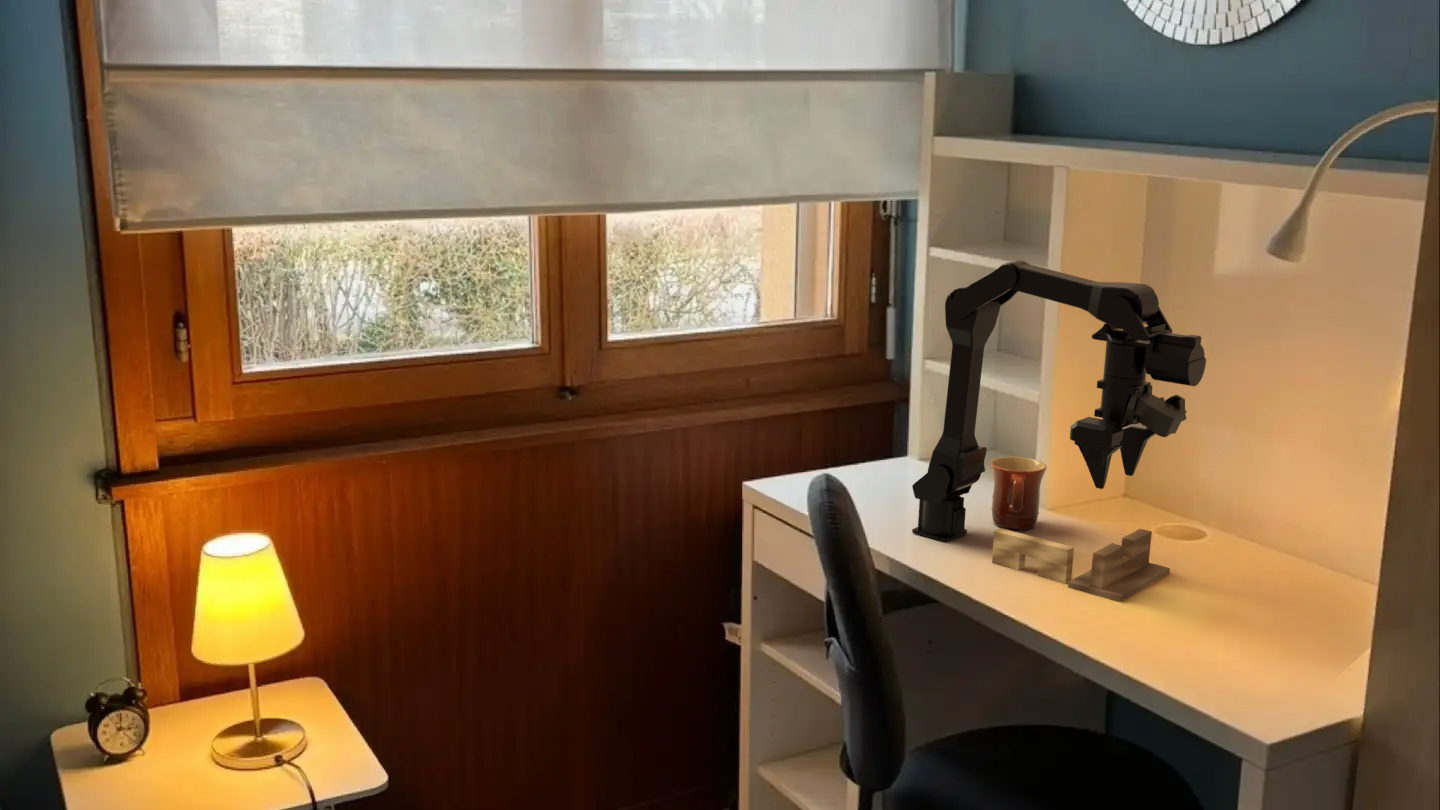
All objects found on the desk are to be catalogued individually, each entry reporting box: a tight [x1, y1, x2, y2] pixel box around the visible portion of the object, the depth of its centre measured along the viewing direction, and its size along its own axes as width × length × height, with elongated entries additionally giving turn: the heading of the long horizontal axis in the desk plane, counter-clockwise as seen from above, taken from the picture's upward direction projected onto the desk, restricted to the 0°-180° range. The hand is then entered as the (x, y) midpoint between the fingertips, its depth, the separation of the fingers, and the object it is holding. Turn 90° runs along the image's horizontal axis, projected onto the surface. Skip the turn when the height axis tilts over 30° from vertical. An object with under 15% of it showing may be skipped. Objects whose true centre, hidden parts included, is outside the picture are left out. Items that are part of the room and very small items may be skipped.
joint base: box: [1067, 528, 1171, 603], centre depth 199 cm, size 8×16×6 cm, turn 138°
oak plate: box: [991, 527, 1075, 584], centre depth 202 cm, size 12×2×5 cm, turn 48°
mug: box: [990, 456, 1047, 531], centre depth 221 cm, size 12×9×10 cm
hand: (1114, 481), depth 197 cm, fingers open, 9 cm apart
